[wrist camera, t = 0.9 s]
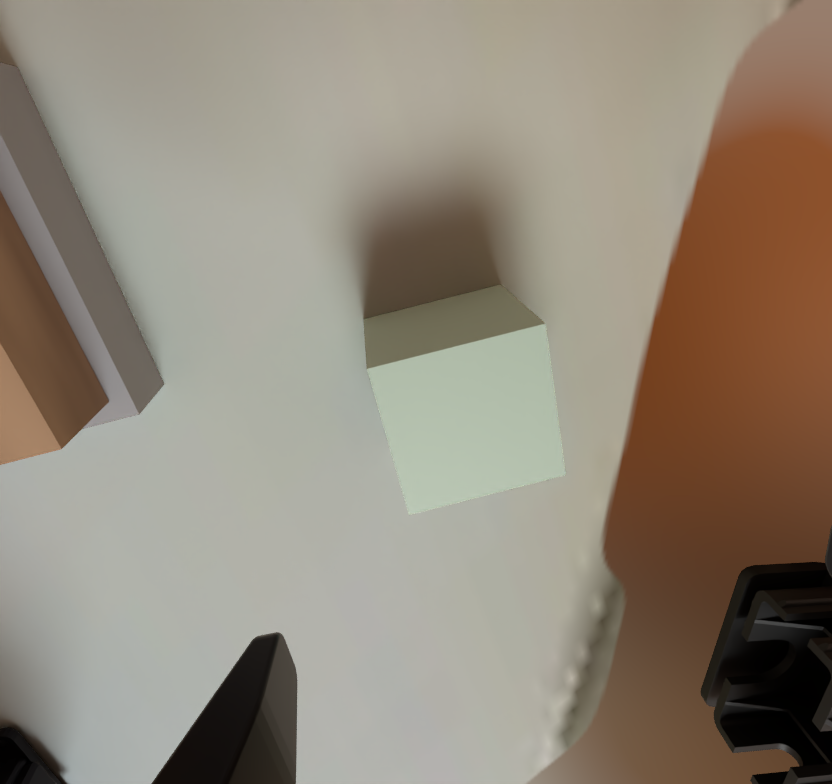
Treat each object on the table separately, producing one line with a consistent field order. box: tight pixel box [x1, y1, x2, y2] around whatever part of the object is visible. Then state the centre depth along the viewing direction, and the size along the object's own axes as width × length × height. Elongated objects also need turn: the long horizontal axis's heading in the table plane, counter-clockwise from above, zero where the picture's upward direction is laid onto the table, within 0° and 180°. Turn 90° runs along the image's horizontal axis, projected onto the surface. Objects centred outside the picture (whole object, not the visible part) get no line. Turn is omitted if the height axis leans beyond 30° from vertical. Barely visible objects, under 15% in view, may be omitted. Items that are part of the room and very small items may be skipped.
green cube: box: [364, 284, 566, 515], centre depth 18 cm, size 5×5×5 cm
